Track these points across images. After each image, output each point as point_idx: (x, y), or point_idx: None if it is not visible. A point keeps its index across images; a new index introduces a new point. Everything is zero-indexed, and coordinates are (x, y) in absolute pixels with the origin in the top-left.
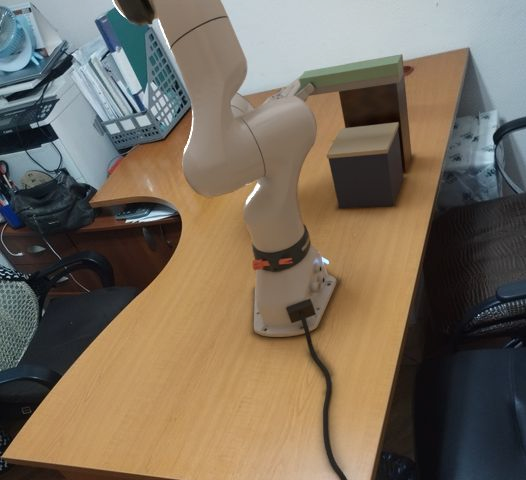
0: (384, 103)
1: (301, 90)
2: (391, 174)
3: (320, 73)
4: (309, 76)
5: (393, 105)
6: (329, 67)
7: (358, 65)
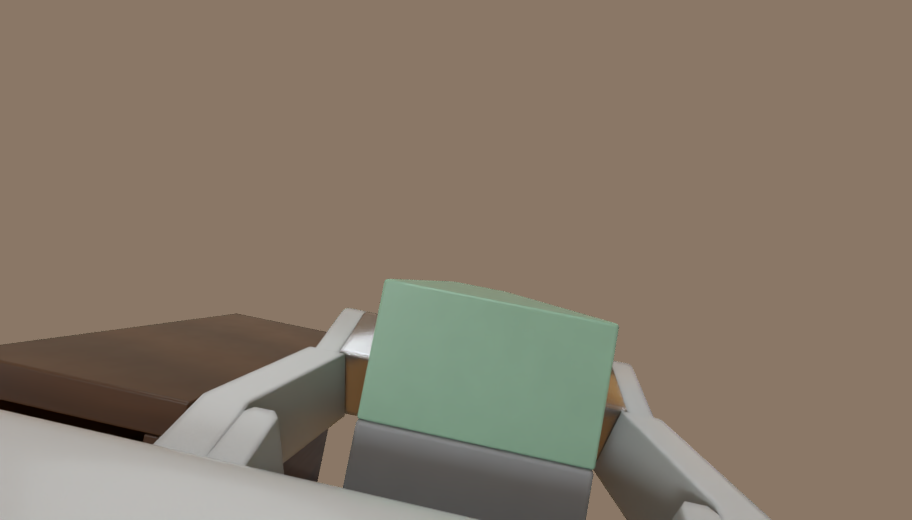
0: (301, 471)
1: (675, 445)
2: None
3: (518, 298)
4: (559, 308)
5: (313, 466)
6: (439, 282)
7: (482, 288)
